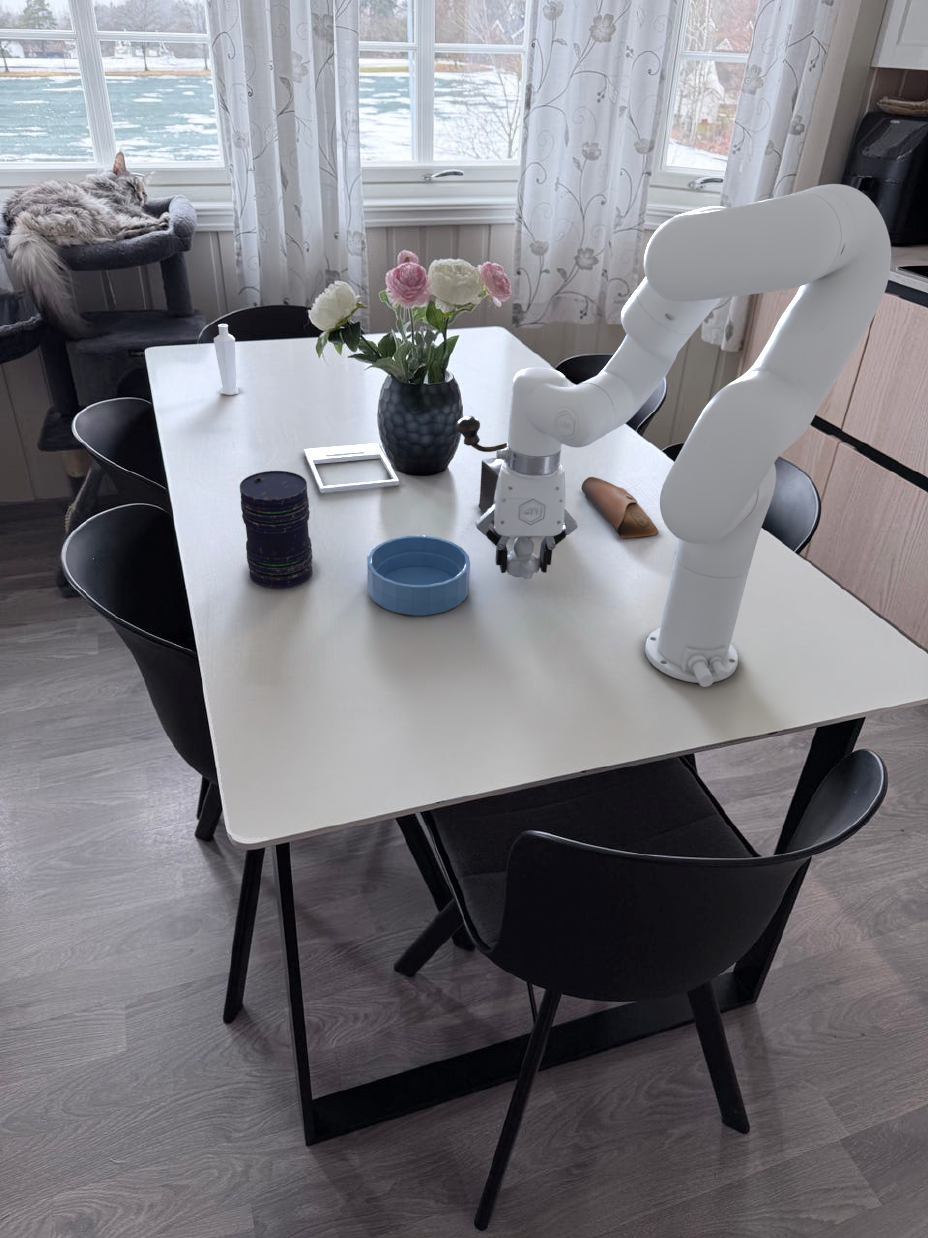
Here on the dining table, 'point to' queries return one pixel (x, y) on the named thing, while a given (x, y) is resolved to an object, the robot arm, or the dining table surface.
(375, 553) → the bowl
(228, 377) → the perfume bottle
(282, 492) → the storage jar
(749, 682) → the dining table surface
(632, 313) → the robot arm
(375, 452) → the photo frame
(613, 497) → the sunglasses case
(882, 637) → the dining table surface
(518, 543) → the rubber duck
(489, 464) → the manual coffee grinder
